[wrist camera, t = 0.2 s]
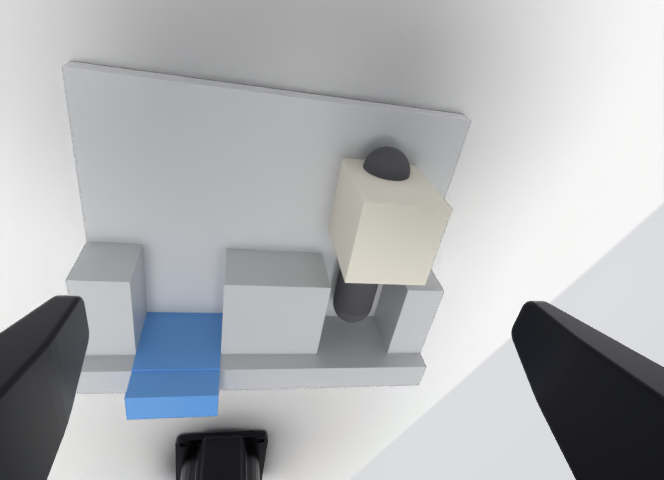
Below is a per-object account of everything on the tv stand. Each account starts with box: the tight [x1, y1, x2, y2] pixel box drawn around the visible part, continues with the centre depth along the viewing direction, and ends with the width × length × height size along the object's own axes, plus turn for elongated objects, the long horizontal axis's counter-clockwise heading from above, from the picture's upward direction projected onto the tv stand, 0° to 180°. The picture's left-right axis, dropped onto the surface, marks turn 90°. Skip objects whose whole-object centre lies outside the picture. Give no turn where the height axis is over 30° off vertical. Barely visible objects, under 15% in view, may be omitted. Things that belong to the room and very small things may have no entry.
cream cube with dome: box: [328, 146, 452, 323], centre depth 21 cm, size 10×4×4 cm, turn 170°
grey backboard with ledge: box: [62, 61, 471, 420], centre depth 21 cm, size 14×18×6 cm
